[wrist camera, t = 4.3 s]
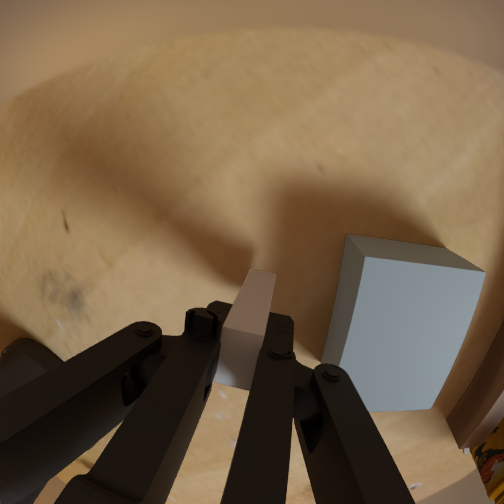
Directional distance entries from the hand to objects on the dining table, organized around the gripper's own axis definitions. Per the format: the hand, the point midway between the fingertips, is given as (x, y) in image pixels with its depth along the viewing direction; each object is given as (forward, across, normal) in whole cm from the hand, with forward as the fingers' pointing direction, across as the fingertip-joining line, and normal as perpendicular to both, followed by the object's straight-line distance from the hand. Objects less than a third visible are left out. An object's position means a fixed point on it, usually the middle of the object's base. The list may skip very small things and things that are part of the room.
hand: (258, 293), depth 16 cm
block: (+2, +8, 0) cm, 8 cm away
